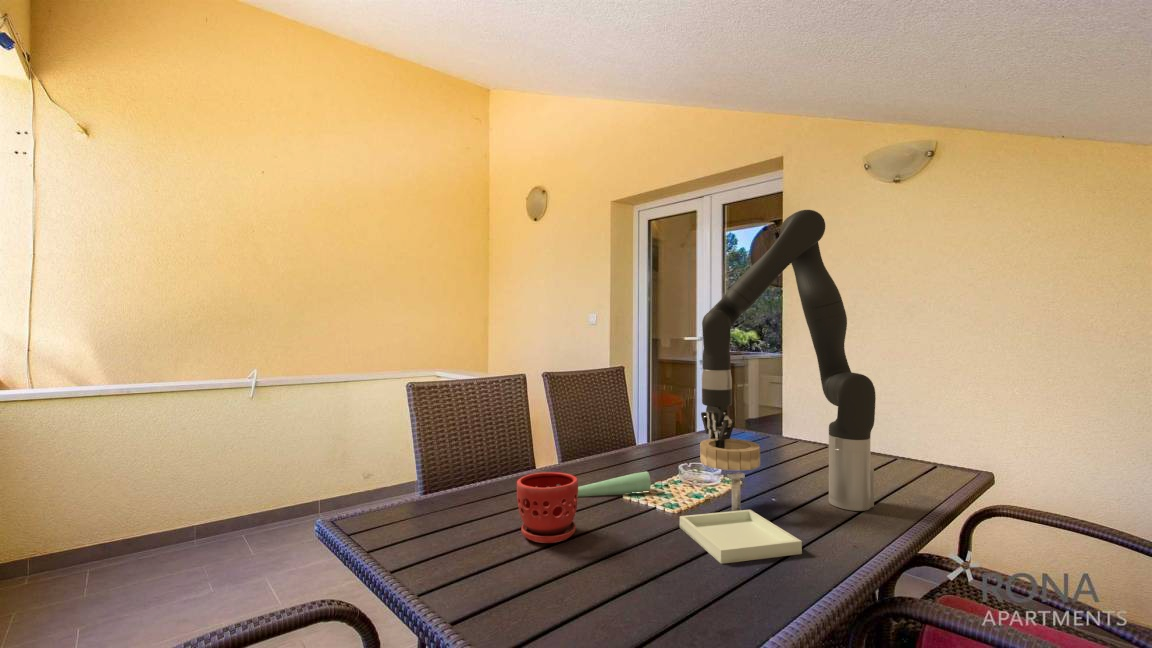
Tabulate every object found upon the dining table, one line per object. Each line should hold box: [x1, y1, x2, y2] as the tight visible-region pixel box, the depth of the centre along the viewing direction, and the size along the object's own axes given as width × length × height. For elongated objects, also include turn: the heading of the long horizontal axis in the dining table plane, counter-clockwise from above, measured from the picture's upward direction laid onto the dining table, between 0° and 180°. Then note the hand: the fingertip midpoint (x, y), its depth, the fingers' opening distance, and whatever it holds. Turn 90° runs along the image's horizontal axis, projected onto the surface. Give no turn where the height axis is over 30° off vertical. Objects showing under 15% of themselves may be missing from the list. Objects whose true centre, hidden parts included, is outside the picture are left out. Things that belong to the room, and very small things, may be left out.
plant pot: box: [516, 471, 579, 544], centre depth 108 cm, size 13×13×12 cm
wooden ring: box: [699, 437, 761, 472], centre depth 125 cm, size 14×14×4 cm
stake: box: [726, 472, 746, 511], centre depth 122 cm, size 4×2×9 cm, turn 104°
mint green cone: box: [577, 470, 652, 498], centre depth 134 cm, size 5×6×27 cm
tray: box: [679, 509, 803, 564], centre depth 105 cm, size 18×18×2 cm
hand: (717, 453), depth 131 cm, fingers closed on wooden ring, 2 cm apart
